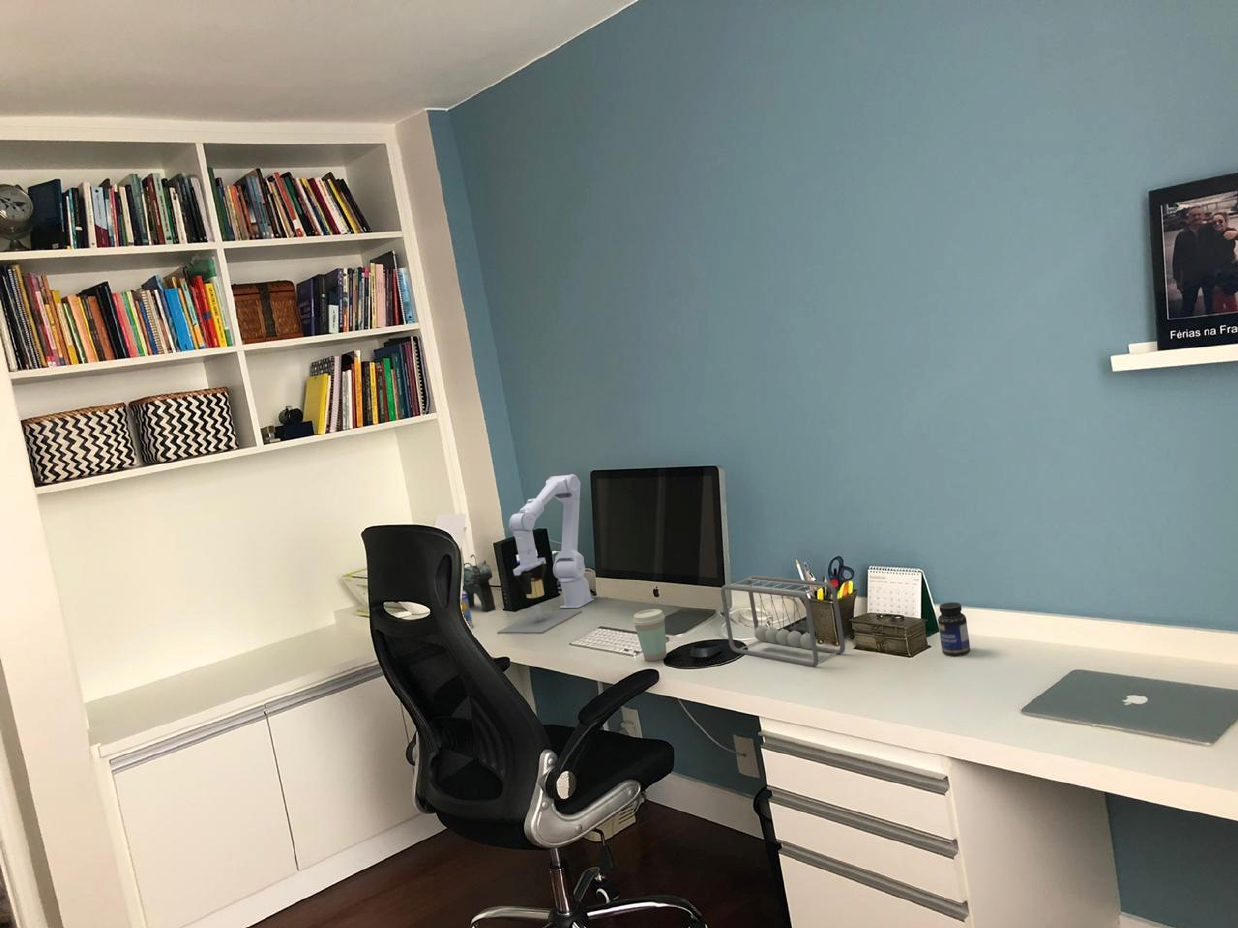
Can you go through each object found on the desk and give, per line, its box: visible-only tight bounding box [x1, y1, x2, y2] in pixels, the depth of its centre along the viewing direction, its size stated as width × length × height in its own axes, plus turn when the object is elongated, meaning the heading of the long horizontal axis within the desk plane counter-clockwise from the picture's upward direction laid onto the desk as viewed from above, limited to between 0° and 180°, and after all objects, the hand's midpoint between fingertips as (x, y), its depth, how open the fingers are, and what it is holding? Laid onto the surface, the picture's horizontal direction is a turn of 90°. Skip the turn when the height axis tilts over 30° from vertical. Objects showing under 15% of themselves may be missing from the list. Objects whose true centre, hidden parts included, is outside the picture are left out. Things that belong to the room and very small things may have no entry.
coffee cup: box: [632, 608, 667, 662], centre depth 260 cm, size 9×8×12 cm
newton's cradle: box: [720, 574, 846, 668], centre depth 245 cm, size 30×10×18 cm, turn 37°
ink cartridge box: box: [461, 591, 474, 629], centre depth 329 cm, size 10×6×14 cm, turn 107°
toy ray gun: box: [463, 554, 496, 613], centre depth 354 cm, size 20×6×20 cm, turn 37°
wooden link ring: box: [525, 577, 545, 599], centre depth 318 cm, size 6×6×5 cm
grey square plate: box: [496, 604, 583, 635], centre depth 319 cm, size 22×18×6 cm
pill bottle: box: [937, 601, 971, 657], centre depth 224 cm, size 6×6×11 cm
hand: (534, 591), depth 319 cm, fingers closed on wooden link ring, 6 cm apart
